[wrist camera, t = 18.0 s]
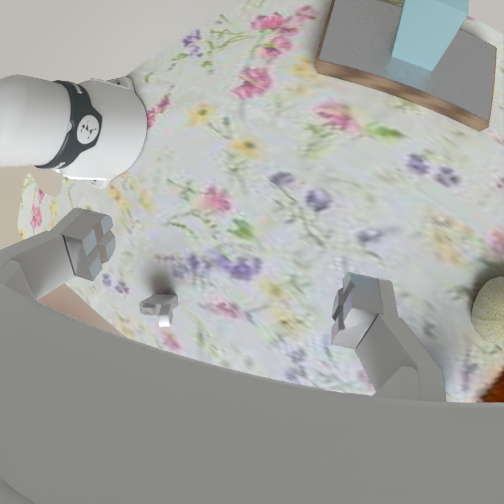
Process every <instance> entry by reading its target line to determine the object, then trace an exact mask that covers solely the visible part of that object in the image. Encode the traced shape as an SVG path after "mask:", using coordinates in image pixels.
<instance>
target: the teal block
mask: <svg viewBox="0 0 504 504" xmlns="http://www.w3.org/2000/svg"><path fill="white" fill-rule="evenodd" d="M468 2H469V1H468V0H403V3H402V8H401V12H400V17H399V21H398V26H397V31H396V36H395V41H394V46H393V51H392V57H395V58H398V59H401V60H404V61H406V62H409V63H412V64H415V65H417V66H420V67H423V68H425V69H428V70H430V71H433V69H434V68H435V66H436V65H437V63H438V61H439V60H440V58H441V57H442V55H443V54H444V52H445V51H446V49H447V47H448V46H449V44H450V43H451V41H452V39H453V38H454V36H455V35H456V33H457V32H458V30H459V28H460V27H461V25H462V23H463V22H464V20H465V19H466V17H467V15H468Z"/></svg>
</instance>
